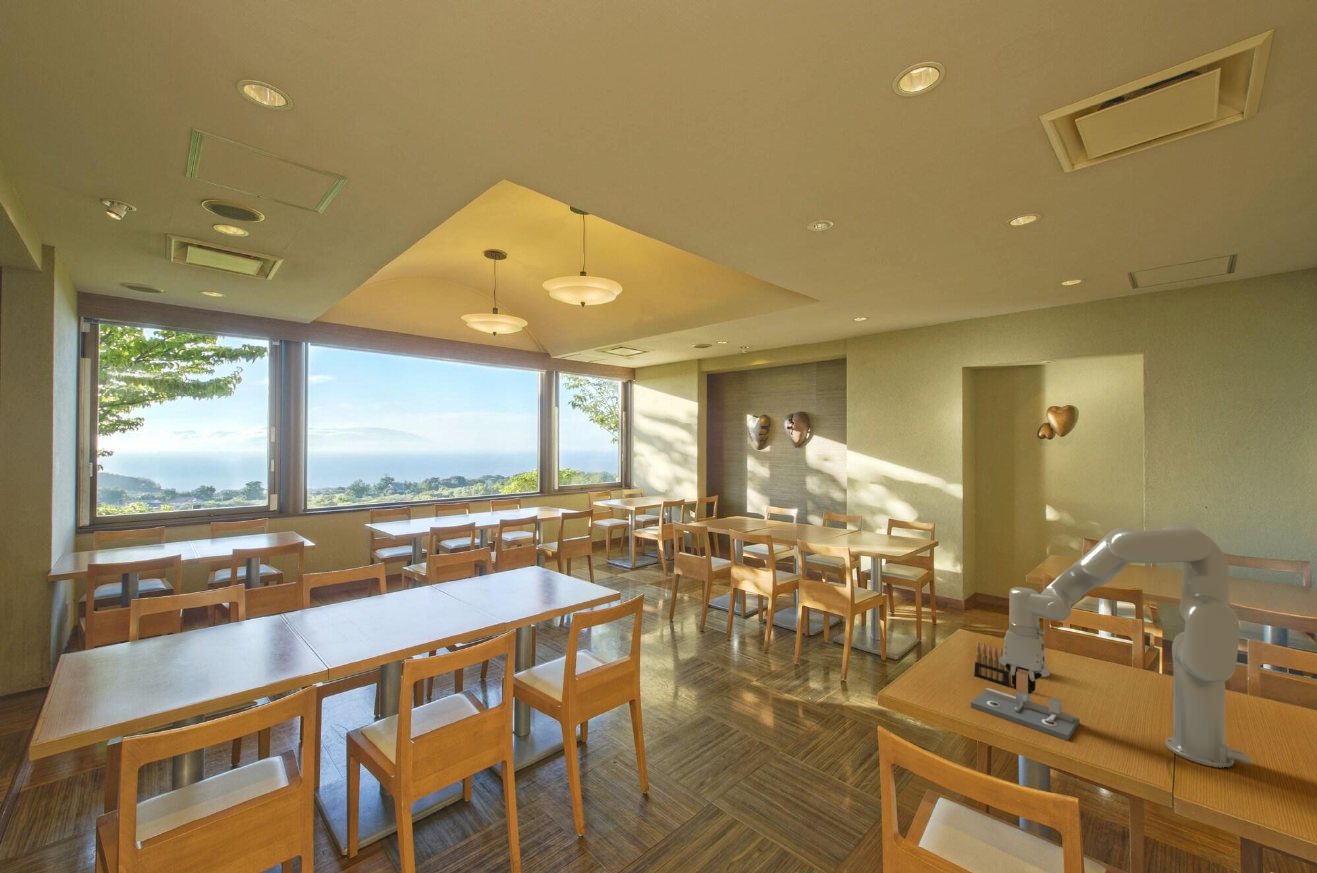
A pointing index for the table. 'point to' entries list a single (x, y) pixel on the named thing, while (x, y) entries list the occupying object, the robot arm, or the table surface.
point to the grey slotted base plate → (1028, 713)
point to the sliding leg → (1022, 688)
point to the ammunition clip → (991, 666)
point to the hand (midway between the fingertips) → (1023, 689)
